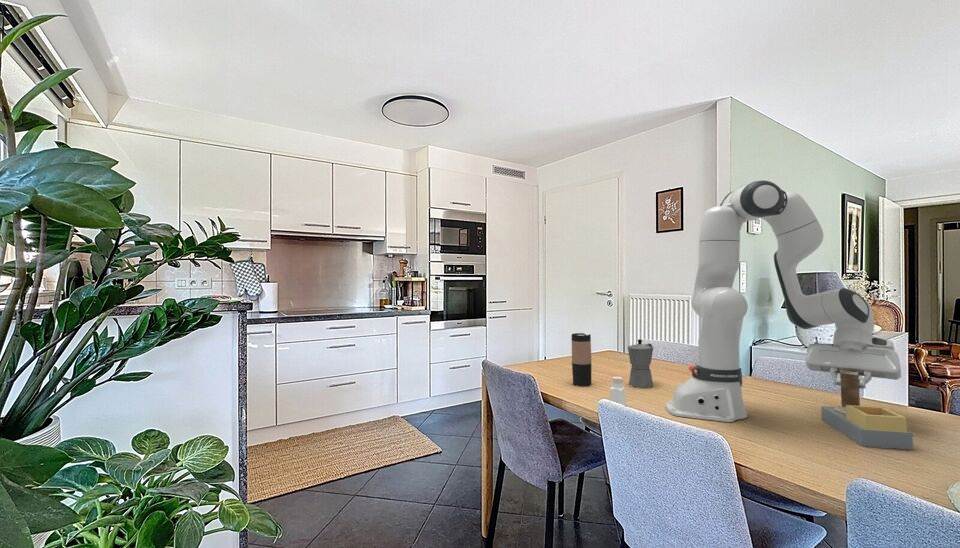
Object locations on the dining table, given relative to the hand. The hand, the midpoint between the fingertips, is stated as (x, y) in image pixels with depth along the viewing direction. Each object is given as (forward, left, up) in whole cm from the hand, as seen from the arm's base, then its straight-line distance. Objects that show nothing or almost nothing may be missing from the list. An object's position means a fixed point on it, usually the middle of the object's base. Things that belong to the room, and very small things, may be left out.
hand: (849, 385), depth 117 cm
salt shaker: (-61, +6, -12) cm, 62 cm away
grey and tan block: (0, -5, -11) cm, 12 cm away
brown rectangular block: (0, +1, -6) cm, 6 cm away
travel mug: (-74, +34, -12) cm, 82 cm away
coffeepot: (-51, +38, -12) cm, 64 cm away
